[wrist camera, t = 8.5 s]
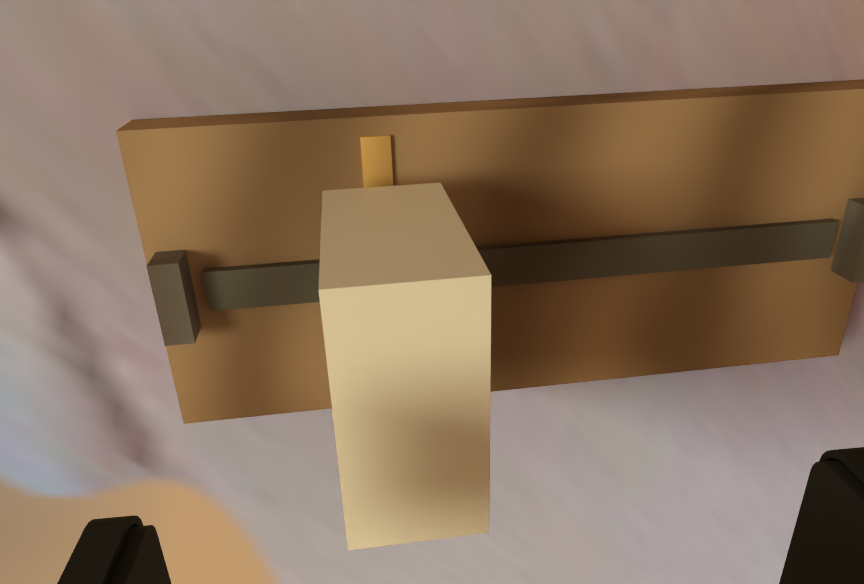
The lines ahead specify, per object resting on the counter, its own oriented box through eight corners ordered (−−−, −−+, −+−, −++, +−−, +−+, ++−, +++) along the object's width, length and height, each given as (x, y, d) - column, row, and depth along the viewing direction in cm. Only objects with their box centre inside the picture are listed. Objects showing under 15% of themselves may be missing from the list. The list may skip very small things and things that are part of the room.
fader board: (872, 79, 21) (939, 91, 18) (810, 334, 24) (859, 370, 22) (132, 119, 18) (103, 139, 16) (193, 396, 22) (177, 443, 20)
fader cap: (436, 174, 18) (491, 274, 12) (441, 366, 20) (489, 532, 14) (322, 182, 17) (318, 289, 11) (342, 376, 20) (348, 550, 14)
